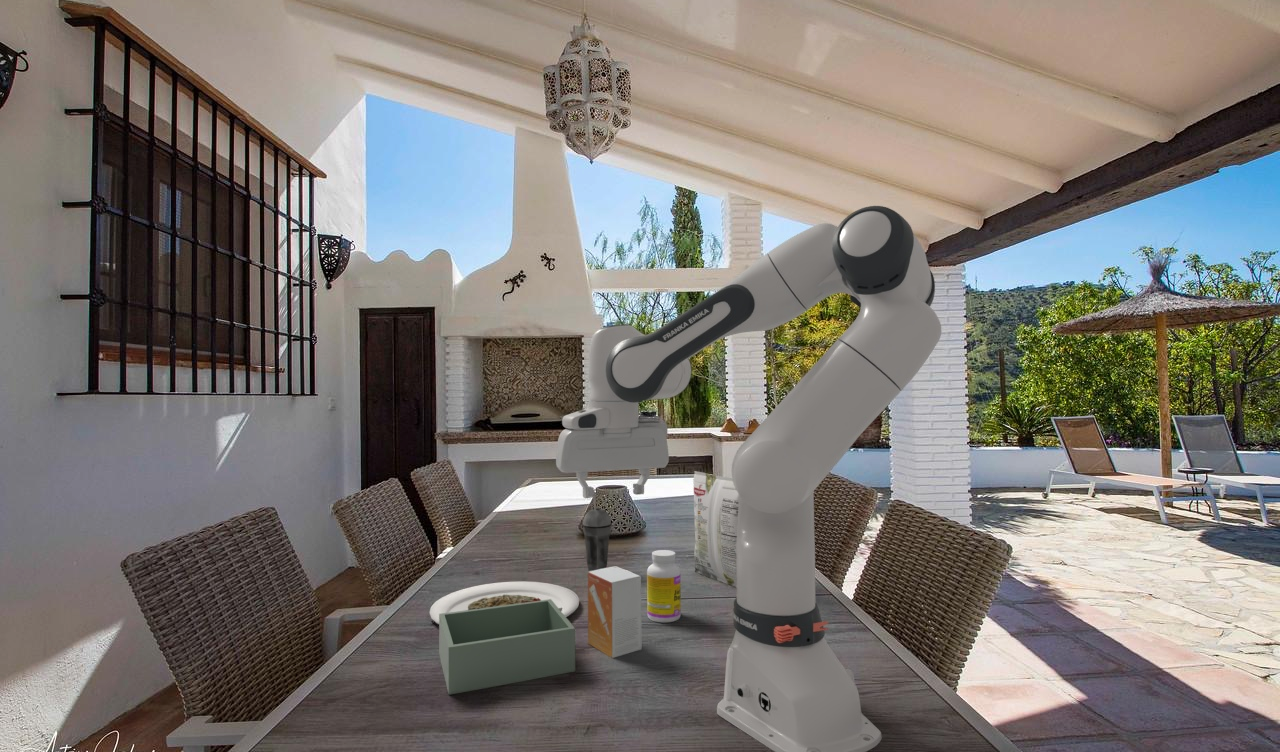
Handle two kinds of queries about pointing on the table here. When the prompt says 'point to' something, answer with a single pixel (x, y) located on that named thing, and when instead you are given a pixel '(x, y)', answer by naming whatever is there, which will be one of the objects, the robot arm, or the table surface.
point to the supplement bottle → (663, 588)
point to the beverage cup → (596, 537)
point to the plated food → (505, 597)
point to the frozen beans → (715, 527)
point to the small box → (614, 611)
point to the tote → (504, 645)
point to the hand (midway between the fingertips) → (613, 495)
